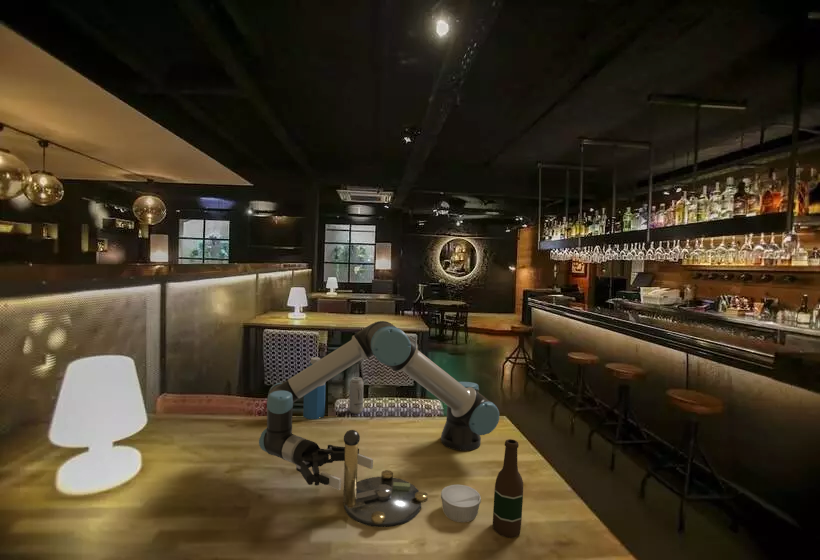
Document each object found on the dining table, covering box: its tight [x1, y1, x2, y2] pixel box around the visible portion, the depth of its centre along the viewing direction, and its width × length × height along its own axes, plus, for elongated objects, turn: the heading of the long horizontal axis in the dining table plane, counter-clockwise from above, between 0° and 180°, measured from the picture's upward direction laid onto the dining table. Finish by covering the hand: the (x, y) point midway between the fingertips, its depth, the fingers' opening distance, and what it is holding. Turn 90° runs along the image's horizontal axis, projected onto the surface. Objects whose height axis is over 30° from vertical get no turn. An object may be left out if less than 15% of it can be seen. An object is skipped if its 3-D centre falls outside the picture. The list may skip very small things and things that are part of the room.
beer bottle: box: [492, 438, 524, 539], centre depth 116 cm, size 8×8×24 cm
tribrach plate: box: [343, 469, 429, 528], centre depth 126 cm, size 24×26×3 cm
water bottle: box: [302, 356, 327, 420], centre depth 189 cm, size 9×9×25 cm
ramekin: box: [440, 484, 482, 523], centre depth 123 cm, size 11×11×5 cm
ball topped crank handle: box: [342, 429, 392, 506], centre depth 123 cm, size 15×5×21 cm, turn 117°
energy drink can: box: [348, 376, 365, 415], centre depth 195 cm, size 6×6×15 cm
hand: (356, 473), depth 119 cm, fingers open, 13 cm apart
